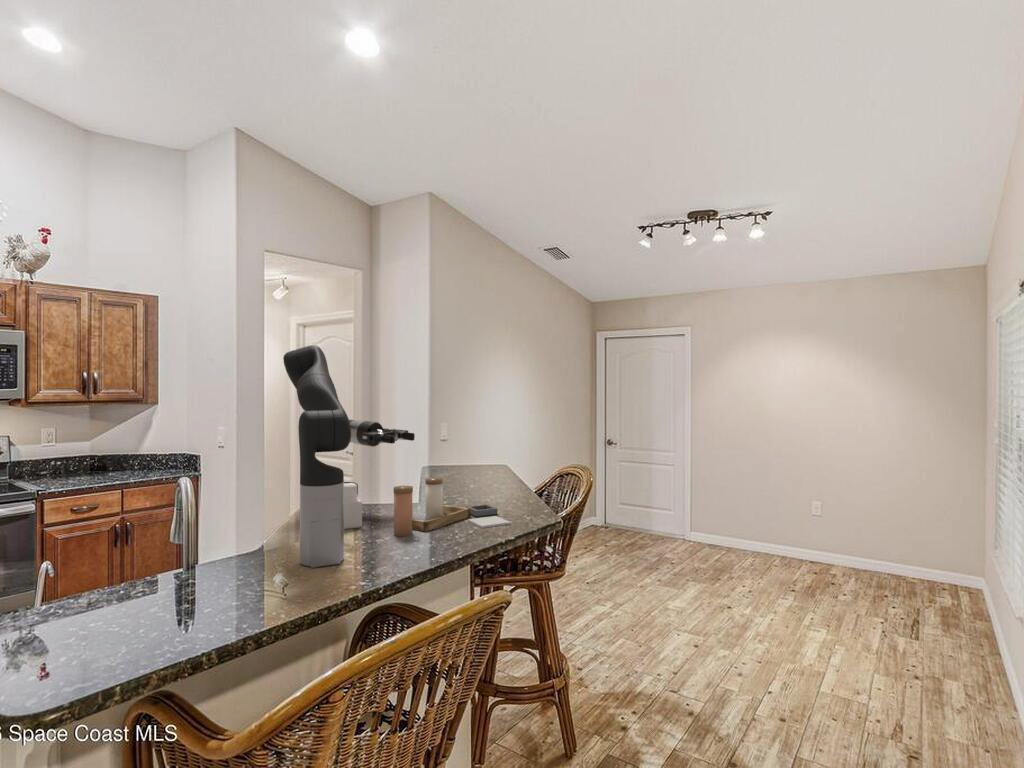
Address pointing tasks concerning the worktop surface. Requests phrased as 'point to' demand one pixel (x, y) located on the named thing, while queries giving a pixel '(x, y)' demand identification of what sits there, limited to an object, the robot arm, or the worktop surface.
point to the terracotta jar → (402, 510)
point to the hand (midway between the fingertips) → (404, 438)
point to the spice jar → (434, 497)
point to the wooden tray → (442, 518)
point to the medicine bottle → (352, 506)
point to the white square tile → (489, 521)
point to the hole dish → (482, 510)
